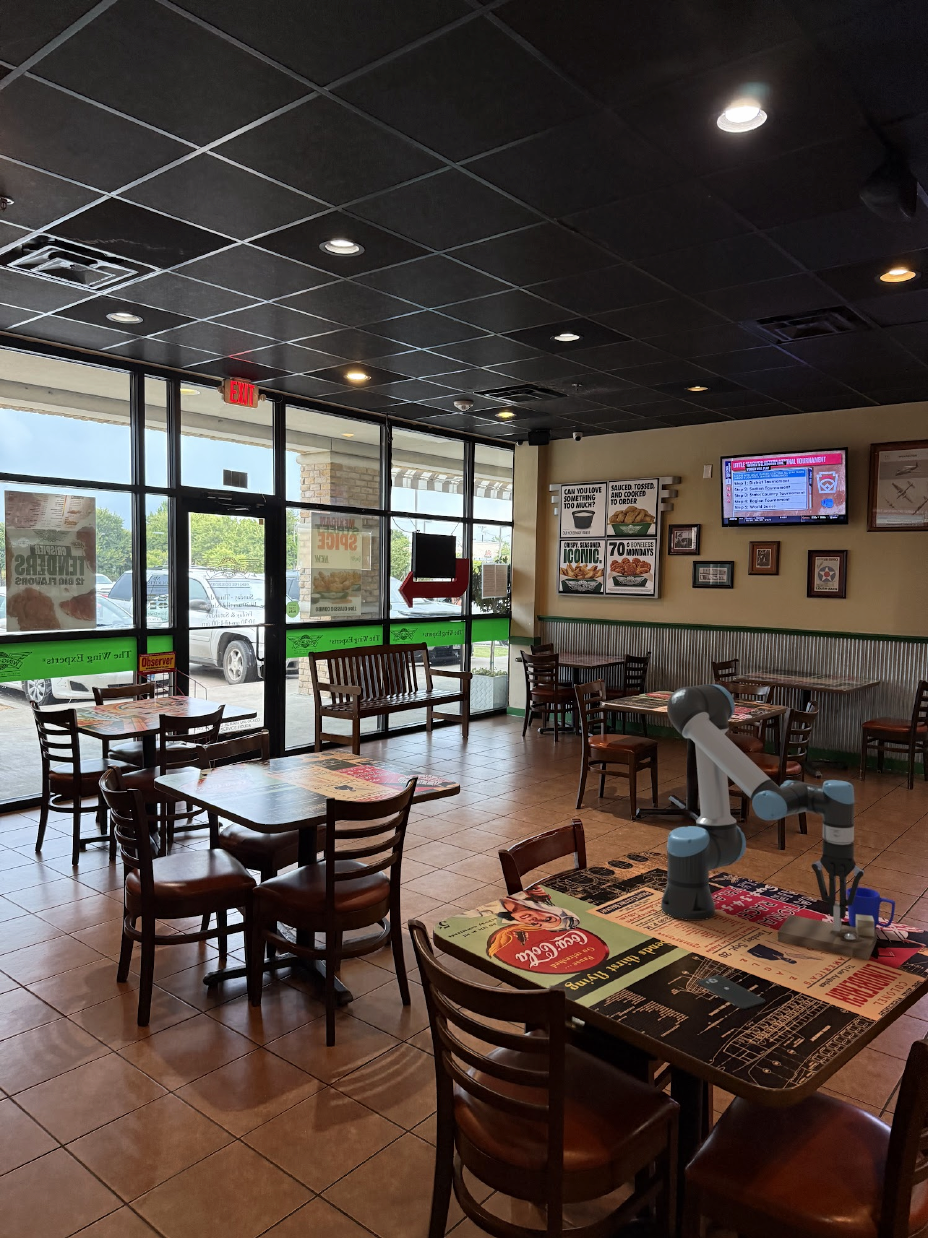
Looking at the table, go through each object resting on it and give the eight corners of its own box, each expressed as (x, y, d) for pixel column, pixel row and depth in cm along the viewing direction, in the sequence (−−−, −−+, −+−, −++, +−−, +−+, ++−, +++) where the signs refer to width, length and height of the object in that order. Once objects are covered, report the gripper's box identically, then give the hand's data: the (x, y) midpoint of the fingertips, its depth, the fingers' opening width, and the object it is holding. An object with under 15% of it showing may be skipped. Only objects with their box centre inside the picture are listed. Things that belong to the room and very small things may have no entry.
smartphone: (719, 977, 206) (719, 974, 206) (767, 1004, 193) (767, 1000, 193) (695, 984, 203) (695, 981, 203) (742, 1011, 189) (742, 1008, 189)
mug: (891, 940, 226) (891, 903, 226) (843, 929, 234) (843, 893, 233) (897, 930, 233) (898, 894, 232) (850, 920, 240) (850, 885, 240)
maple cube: (857, 935, 224) (857, 920, 223) (855, 929, 227) (855, 914, 227) (874, 936, 222) (874, 921, 222) (872, 931, 226) (872, 916, 226)
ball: (842, 934, 222) (855, 937, 220) (844, 930, 225) (857, 933, 223) (842, 946, 222) (855, 949, 220) (844, 942, 225) (857, 945, 223)
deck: (777, 941, 226) (777, 931, 226) (789, 923, 238) (789, 914, 238) (868, 960, 214) (868, 950, 214) (876, 941, 226) (876, 931, 226)
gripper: (808, 840, 224) (808, 929, 225) (863, 848, 217) (862, 939, 218) (814, 833, 230) (813, 919, 231) (867, 841, 223) (866, 929, 224)
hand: (837, 929), depth 224 cm, fingers closed
